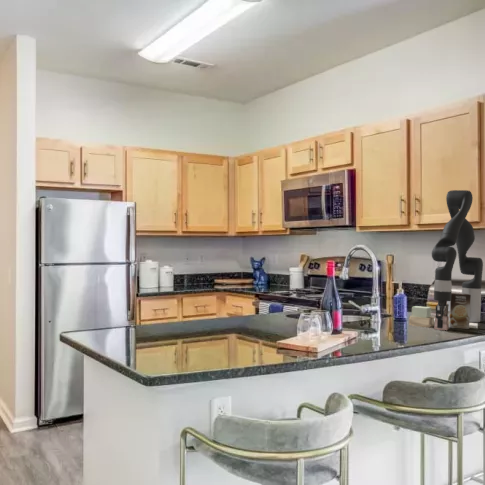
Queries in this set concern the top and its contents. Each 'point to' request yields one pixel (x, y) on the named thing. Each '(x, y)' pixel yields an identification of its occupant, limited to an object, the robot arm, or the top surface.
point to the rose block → (445, 323)
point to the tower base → (421, 321)
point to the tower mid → (421, 311)
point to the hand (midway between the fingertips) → (441, 327)
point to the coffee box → (459, 310)
